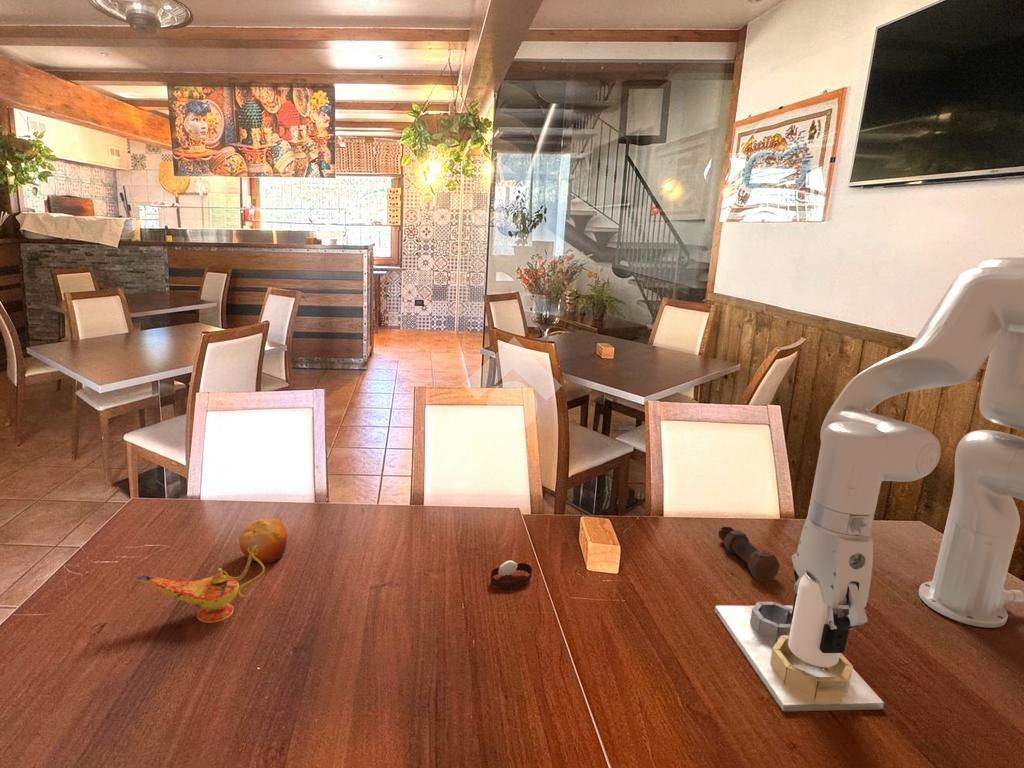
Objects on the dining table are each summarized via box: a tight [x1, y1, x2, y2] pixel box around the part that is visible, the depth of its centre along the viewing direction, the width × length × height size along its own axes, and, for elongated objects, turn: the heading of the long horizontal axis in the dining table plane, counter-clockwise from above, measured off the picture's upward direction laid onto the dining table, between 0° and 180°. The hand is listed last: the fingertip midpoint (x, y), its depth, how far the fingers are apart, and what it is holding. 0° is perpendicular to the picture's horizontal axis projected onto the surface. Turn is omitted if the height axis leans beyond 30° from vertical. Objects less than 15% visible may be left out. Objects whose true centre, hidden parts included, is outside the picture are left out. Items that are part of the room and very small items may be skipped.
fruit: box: [238, 517, 288, 564], centre depth 111 cm, size 8×8×8 cm
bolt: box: [718, 526, 781, 582], centre depth 119 cm, size 6×5×15 cm
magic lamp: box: [134, 545, 266, 624], centre depth 93 cm, size 7×18×11 cm, turn 103°
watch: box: [490, 560, 533, 589], centre depth 107 cm, size 8×5×4 cm, turn 116°
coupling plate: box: [714, 601, 885, 712], centre depth 92 cm, size 14×22×4 cm, turn 5°
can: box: [788, 570, 846, 668], centre depth 85 cm, size 6×6×12 cm
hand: (816, 633), depth 85 cm, fingers closed on can, 6 cm apart
